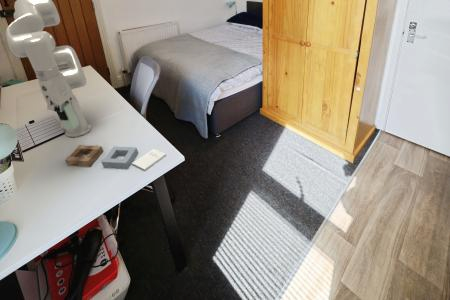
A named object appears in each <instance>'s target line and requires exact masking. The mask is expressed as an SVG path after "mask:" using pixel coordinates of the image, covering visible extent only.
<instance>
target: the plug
mask: <svg viewBox="0 0 450 300" xmlns="http://www.w3.org/2000/svg"><path fill="white" fill-rule="evenodd" d="M61 106H62V109H63V111H65V113H66V116H67V118H68V120H60V121H61V123H62V124H63V126H64V128H63V129H64V130H66V129H75V128H76V127H77V126H78V125H79V122H78V120H77V117H76V115H75V112H74V110H73V108H72V105H71V103H63V104H62V105H61ZM57 108H58V106H57Z"/></svg>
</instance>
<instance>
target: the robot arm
mask: <svg viewBox="0 0 450 300" xmlns="http://www.w3.org/2000/svg"><path fill="white" fill-rule="evenodd" d="M13 7H14V13H13V19H14V20H13V21H12V22H11V23H10V24H9V25H8V26H7V27H6V30H5V35H6V40H7V46H8V48H9V50H10V51H11V53H12V54H13V55H14V56H15V57H17V58H28V60H29V62H30V64H31V67H32V69H33V71H34V74H35V78H36V79H38V84H39V87H40V91H41V94H42V96H43V98H44V101H45V102H46V104H47V110H49V111H52V112H55V113H56V115H58V116H57V117H58V119H59V120H60V121H61V120H68V118H67V116H66V113H65V111H63V109H62V106H61V105H62V104H63V103H71V105H72V108H73V110H74V112H75V115H76V117H77V120H78V122H79V125H78V126H77V127H76V128H75V129H65V128H64V126H63V124H62V122H61V123H60V129H65V135H66V136H67V137H69V138H77V137H82V136H84V135H86V134H88V133H89V132H91V131H92V128H93V127H92V125H91V124H90V123H89V122H87V120H86V118H85V116H84V113H83V110H82V108H81V105H80V103H79V100H78V98H77V97H76V95H75V94H74V93H73V91H72V90H75V89H79V88H83V87H84V86H86V85H87V77H86V74H85V72H84V70H83V66H82V65H81V62H80V60H79V58H78V57H79V56H78V55H77V53H76V50H75V49H74V48H73V47H72V46H70V45H61V46H56V41H55V39H54V37H53V35H52V34H51V33H49V32H48V31H44V28H47V27H48V28H49V27H54V26H58V25H59V24H60V23H61V19H60V15H59V12H58V9H57V7H56V5H55V3H54V2H53V1H52V0H16V1H15V2H14V6H13ZM57 106H58V108H57Z"/></svg>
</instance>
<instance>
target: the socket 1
mask: <svg viewBox="0 0 450 300" xmlns="http://www.w3.org/2000/svg"><path fill="white" fill-rule="evenodd" d="M103 153H104V149H103V147H102V145H83V144H82V145H80V144H79V145H78V146H77V147H76V148H75V149H74V150H73V151H72V152H71V153H70V154H69V155H68V156H67V157H66V158H65V163H66V165H67V167H68V166H69V167H70V166H71V167H88V168H89V167H92V166H93V165H94V163H95V162H96V161H97V160H98V159H99V157H100V156H101V155H102V154H103ZM83 155H87V156H84V157H83Z"/></svg>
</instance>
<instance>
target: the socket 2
mask: <svg viewBox="0 0 450 300" xmlns="http://www.w3.org/2000/svg"><path fill="white" fill-rule="evenodd" d="M138 154H139V150H138V148H137V147H134V146H132V147H131V146H113V147H112V148H111V149H110V150H109V151H108V153H107V154H106V156H105V157H104V158H103V159H102V161H101V164H102V167H103V168H109V169H127V170H128V169H129V168H130V166H131V165H132V163H133V162H134V161H135V159H136V157H137V156H138ZM118 156H121V157H123V156H124V157H123V158H118Z"/></svg>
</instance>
